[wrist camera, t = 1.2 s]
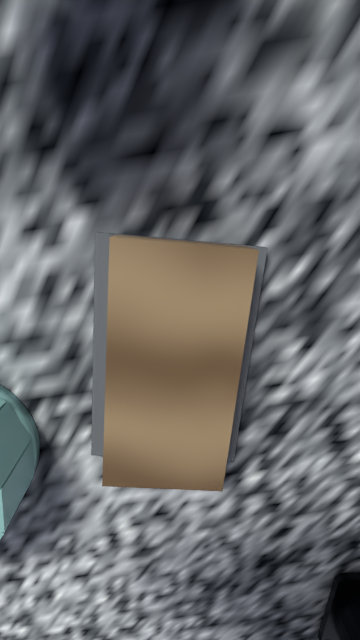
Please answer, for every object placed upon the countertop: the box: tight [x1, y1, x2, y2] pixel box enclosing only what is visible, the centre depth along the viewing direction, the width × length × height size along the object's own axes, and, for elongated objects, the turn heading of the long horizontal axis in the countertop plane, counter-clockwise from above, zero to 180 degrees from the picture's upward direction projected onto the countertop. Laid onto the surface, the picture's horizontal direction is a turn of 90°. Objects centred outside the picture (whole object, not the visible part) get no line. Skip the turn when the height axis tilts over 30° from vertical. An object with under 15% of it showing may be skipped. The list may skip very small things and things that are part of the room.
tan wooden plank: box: [102, 235, 259, 491], centre depth 16 cm, size 12×6×2 cm, turn 175°
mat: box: [91, 232, 267, 462], centre depth 17 cm, size 12×8×1 cm, turn 175°
